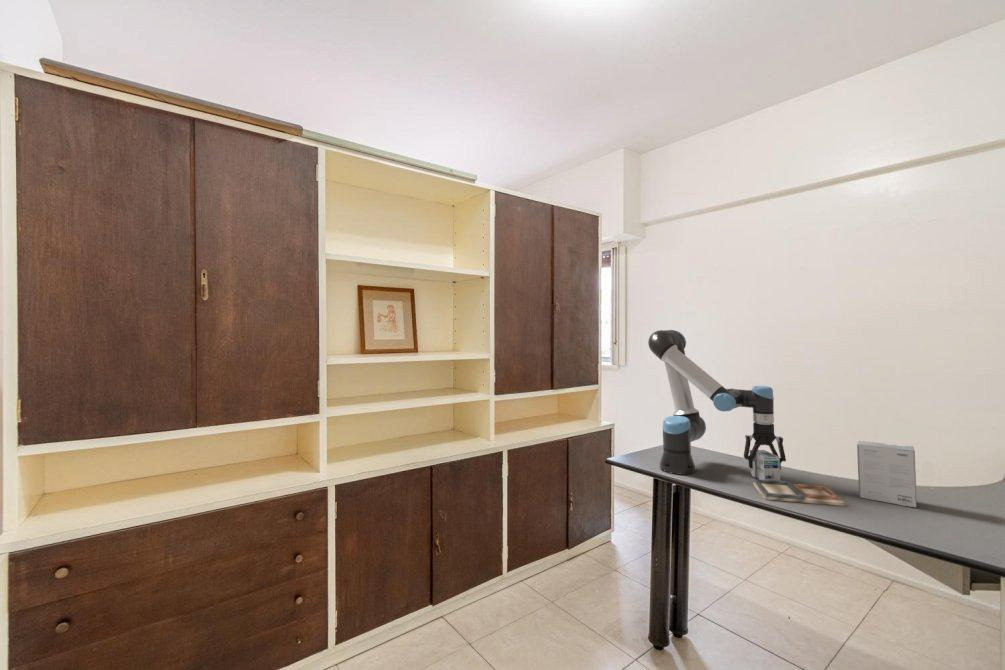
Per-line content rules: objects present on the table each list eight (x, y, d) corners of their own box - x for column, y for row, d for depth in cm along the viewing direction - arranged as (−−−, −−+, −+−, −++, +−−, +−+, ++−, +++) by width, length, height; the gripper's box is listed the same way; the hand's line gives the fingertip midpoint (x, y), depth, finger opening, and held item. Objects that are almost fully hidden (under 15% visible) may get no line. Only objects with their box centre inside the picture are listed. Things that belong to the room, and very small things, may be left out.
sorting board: (765, 499, 155) (765, 493, 155) (753, 484, 170) (753, 478, 170) (845, 506, 148) (845, 499, 148) (825, 489, 163) (825, 484, 163)
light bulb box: (780, 482, 172) (780, 456, 172) (764, 482, 172) (763, 456, 172) (765, 473, 182) (764, 449, 182) (749, 474, 182) (749, 449, 182)
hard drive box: (916, 501, 150) (914, 446, 150) (917, 508, 144) (915, 451, 144) (859, 491, 160) (858, 439, 160) (858, 497, 155) (856, 443, 155)
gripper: (738, 423, 176) (739, 477, 176) (795, 425, 170) (796, 481, 170) (734, 420, 184) (735, 471, 184) (788, 421, 177) (789, 475, 177)
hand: (764, 476), depth 177 cm, fingers closed on light bulb box, 8 cm apart
